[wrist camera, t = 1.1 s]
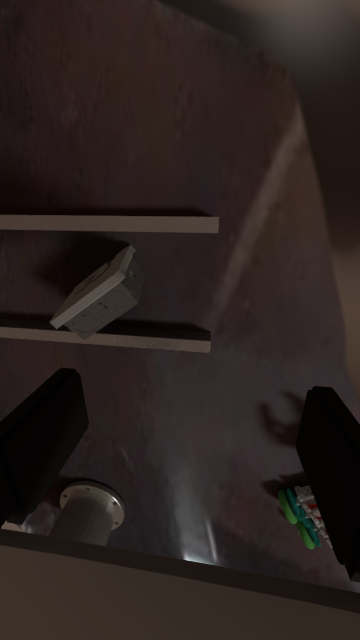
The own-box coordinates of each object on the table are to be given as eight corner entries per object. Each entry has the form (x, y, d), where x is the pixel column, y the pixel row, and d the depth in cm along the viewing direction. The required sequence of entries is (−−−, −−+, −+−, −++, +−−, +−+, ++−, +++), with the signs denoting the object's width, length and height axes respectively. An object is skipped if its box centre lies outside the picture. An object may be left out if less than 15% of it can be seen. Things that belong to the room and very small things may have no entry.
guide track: (210, 342, 31) (209, 360, 26) (-54, 324, 36) (-94, 337, 31) (218, 219, 26) (219, 215, 21) (-90, 215, 31) (-144, 211, 26)
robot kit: (364, 385, 31) (425, 444, 22) (425, 508, 36) (494, 594, 27) (236, 434, 36) (244, 497, 27) (306, 535, 41) (332, 615, 33)
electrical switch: (132, 242, 28) (104, 254, 20) (158, 277, 30) (142, 303, 21) (78, 284, 31) (33, 311, 22) (104, 315, 32) (71, 350, 24)
